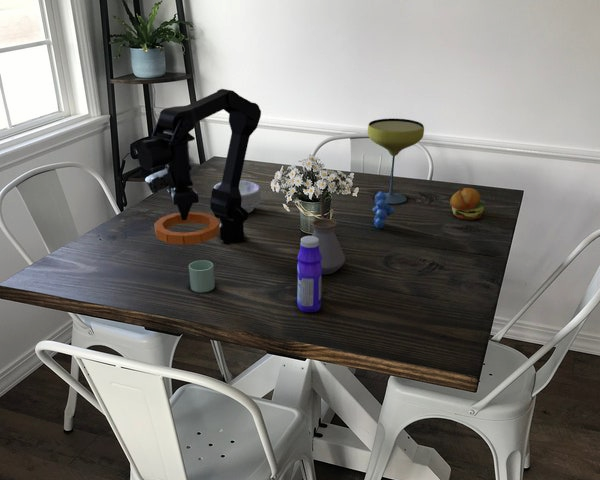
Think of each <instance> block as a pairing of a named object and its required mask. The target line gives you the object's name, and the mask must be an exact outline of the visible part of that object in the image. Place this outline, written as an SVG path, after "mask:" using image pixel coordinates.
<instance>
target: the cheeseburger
mask: <svg viewBox="0 0 600 480" xmlns="http://www.w3.org/2000/svg"><path fill="white" fill-rule="evenodd" d="M481 199H482V198H481V194H480V192H479V191H478V190H477V189H475V188H472V187H463V188H459V190H458V191H456V192H455V193H454V194H453V195H452V196H451V198H450V200H448V203H450V206H451V209H452V213H453V215H454V216H455V217H457V218H459V219H462V220H466V221H467V220H468V221H475V220H477V219H480V218H481V217H482V216H483V212H484V210H485V204H484V202H481Z"/></svg>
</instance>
